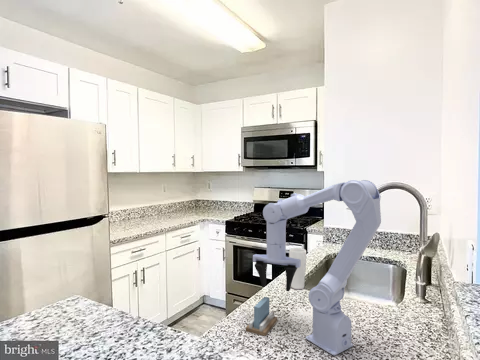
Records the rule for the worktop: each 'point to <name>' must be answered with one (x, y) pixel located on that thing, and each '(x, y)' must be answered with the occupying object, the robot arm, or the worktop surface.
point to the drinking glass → (300, 272)
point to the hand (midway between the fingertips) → (276, 288)
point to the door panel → (261, 311)
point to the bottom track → (263, 325)
